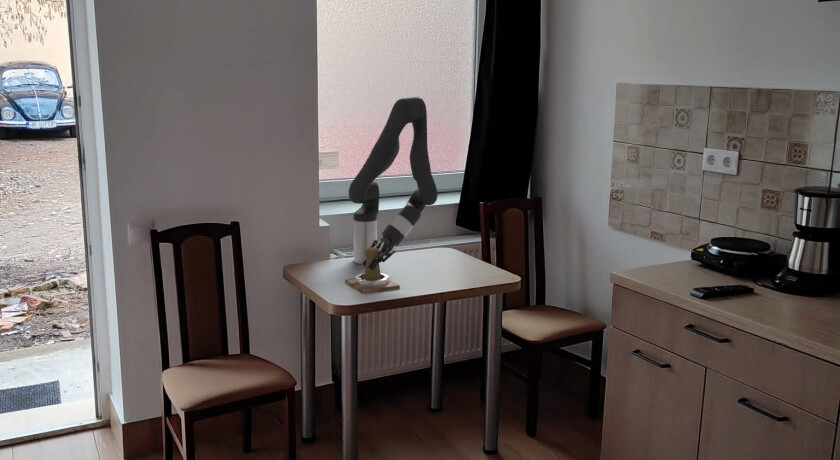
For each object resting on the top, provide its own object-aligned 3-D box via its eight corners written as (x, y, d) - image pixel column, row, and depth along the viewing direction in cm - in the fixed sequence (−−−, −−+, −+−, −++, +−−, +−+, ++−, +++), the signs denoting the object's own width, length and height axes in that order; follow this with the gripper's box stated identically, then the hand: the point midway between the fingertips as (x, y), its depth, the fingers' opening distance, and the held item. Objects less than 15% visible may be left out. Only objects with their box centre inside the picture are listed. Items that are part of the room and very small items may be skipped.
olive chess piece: (378, 280, 274) (378, 250, 272) (362, 279, 275) (361, 249, 273) (382, 276, 280) (382, 246, 278) (366, 275, 281) (366, 245, 279)
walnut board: (345, 282, 282) (345, 279, 281) (379, 277, 288) (379, 274, 288) (363, 293, 268) (363, 290, 268) (399, 288, 275) (399, 285, 275)
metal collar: (351, 280, 280) (351, 274, 280) (379, 276, 286) (379, 271, 285) (364, 288, 270) (364, 282, 270) (393, 284, 276) (393, 278, 275)
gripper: (381, 220, 283) (352, 256, 280) (400, 227, 271) (369, 265, 268) (394, 232, 287) (365, 268, 284) (413, 240, 275) (383, 278, 272)
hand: (367, 266), depth 276 cm, fingers closed on olive chess piece, 4 cm apart
